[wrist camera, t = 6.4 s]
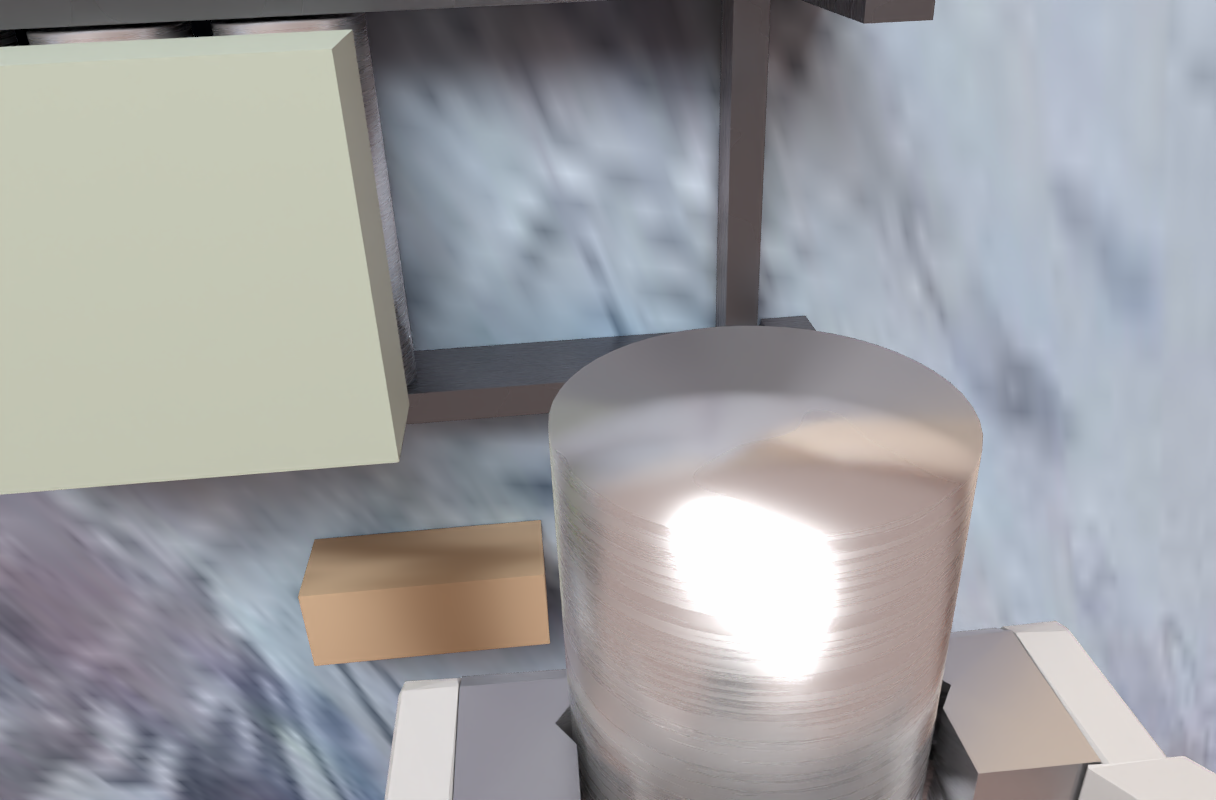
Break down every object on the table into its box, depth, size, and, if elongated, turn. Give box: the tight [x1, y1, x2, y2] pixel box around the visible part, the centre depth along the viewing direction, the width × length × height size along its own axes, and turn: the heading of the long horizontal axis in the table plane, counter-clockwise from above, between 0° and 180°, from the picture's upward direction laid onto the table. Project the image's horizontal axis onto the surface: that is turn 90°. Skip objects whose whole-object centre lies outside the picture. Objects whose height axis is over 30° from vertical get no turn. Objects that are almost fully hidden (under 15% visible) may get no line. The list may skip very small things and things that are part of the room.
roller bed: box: [0, 0, 935, 424], centre depth 20 cm, size 21×10×6 cm, turn 92°
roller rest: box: [298, 520, 550, 666], centre depth 27 cm, size 6×2×2 cm, turn 92°
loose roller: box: [548, 326, 983, 800], centre depth 8 cm, size 7×3×3 cm, turn 2°
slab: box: [0, 29, 409, 494], centre depth 18 cm, size 9×8×2 cm
